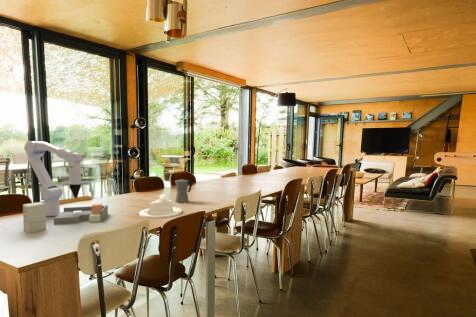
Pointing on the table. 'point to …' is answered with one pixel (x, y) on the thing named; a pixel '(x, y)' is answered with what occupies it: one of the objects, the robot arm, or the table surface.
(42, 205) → the supplement box
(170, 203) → the dish
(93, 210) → the block
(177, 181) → the coffeepot
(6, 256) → the table surface
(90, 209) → the board
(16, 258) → the table surface
